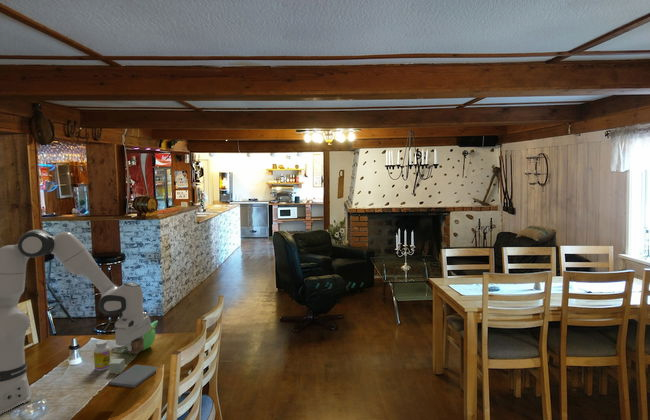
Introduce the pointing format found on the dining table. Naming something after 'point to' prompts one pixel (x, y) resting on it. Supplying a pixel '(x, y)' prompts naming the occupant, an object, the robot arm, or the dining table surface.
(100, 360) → the supplement bottle
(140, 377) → the slate board
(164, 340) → the dining table surface
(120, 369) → the sage cube
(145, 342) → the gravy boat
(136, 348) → the walnut cube
